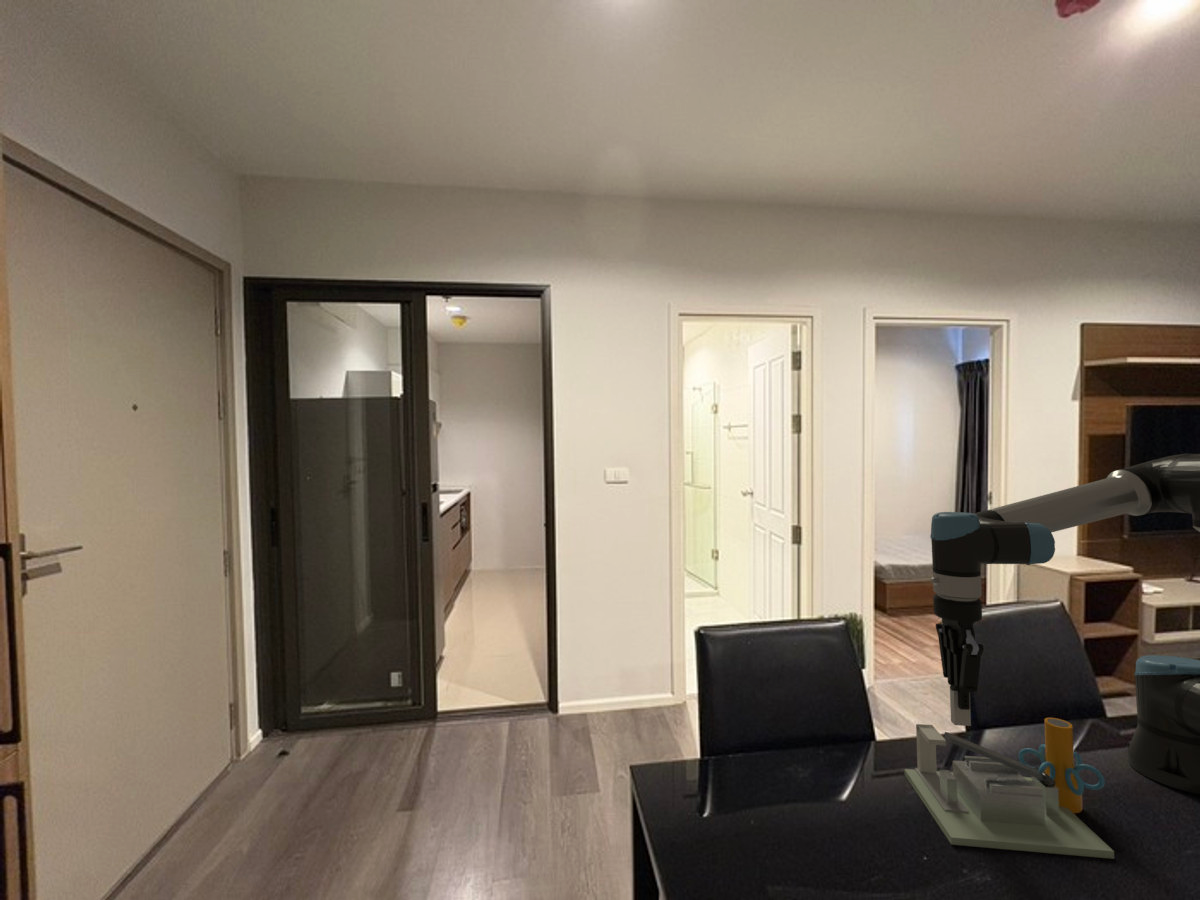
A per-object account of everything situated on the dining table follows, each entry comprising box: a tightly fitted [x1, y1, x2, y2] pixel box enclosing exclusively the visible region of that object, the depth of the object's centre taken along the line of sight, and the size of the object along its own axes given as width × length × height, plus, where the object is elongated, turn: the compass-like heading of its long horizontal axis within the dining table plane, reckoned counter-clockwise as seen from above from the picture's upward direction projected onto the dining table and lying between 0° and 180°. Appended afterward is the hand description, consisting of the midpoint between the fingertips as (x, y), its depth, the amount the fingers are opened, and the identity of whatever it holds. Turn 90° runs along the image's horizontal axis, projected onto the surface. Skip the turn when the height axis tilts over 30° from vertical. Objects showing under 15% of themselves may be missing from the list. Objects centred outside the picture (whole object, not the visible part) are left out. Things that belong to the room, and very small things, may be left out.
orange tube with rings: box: [1018, 717, 1106, 815], centre depth 100 cm, size 12×10×15 cm
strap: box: [943, 731, 1056, 787], centre depth 98 cm, size 18×4×1 cm, turn 80°
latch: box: [915, 723, 947, 773], centre depth 107 cm, size 3×6×9 cm, turn 170°
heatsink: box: [939, 755, 1059, 826], centre depth 98 cm, size 18×10×6 cm, turn 81°
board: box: [904, 767, 1115, 859], centre depth 98 cm, size 24×20×2 cm
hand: (960, 723), depth 99 cm, fingers closed
